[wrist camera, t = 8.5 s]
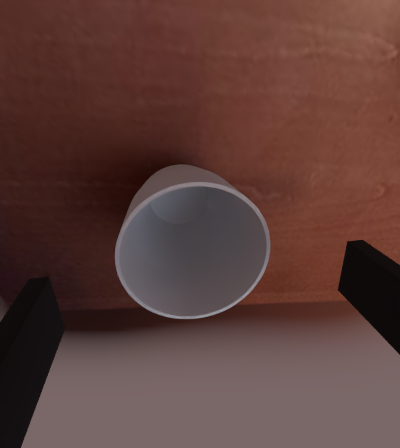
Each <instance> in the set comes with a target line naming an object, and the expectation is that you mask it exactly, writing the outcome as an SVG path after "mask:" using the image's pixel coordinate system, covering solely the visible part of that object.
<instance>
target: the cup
mask: <svg viewBox="0 0 400 448" xmlns="http://www.w3.org/2000/svg"><path fill="white" fill-rule="evenodd" d="M269 254H270V235H269V231H268V227H267V224H266V222H265V219H264V217H263V216H262V214H261V212H260V211H259V210H258V208H257V207H256V206H255V205H254V204H253V203H252V202H251V201H250V200H249V199H248V198H247V197H245V196H244V195H243V194H242V193H240V192H239V191H238V190H237V189H235V188H234V187H233V186H232V185H230V184H229V183H228V182H226V181H225V180H224V179H223V178H221V177H220V176H218V175H216V174H214V173H212V172H210V171H207V170H204V169H201V168H198V167H195V166H191V165H184V164H180V165H172V166H168V167H165V168H163V169H161V170H159V171H157V172H156V173H154V174H153V175H152V176H151V177H150V178H149V179H148V180H147V181H146V182H145V183H144V185H143V186H142V187H141V188H140V189H139V190H138V192H137V193H136V195H135V196H134V198H133V199H132V201H131V204H130V206H129V209H128V212H127V214H126V217H125V220H124V222H123V225H122V228H121V230H120V233H119V236H118V239H117V243H116V249H115V263H116V269H117V273H118V276H119V279H120V281H121V283H122V285H123V287H124V288H125V290H126V291H127V292H128V294H129V295H130V296H131V297H132V298H133V299H134V300H135V301H136V302H137V303H139V304H140V305H141V306H143V307H144V308H146V309H148V310H150V311H152V312H154V313H156V314H159V315H162V316H166V317H171V318H177V319H195V318H202V317H207V316H210V315H214V314H217V313H219V312H222V311H224V310H226V309H228V308H230V307H232V306H233V305H235V304H237V303H238V302H239V301H241V300H242V299H243V298H244V297H246V296H247V295H248V294H249V293H250V292H251V291H252V290H253V288H254V287H255V286H256V285H257V283H258V282H259V280H260V279H261V277H262V275H263V273H264V271H265V269H266V266H267V263H268V259H269Z"/></svg>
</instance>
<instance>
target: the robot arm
mask: <svg viewBox="0 0 400 448" xmlns="http://www.w3.org/2000/svg"><path fill="white" fill-rule="evenodd" d="M338 291H339V292H340V293H341V294H342V295H343V296H344V297H345V298H346V299H347V300H348V301H349V302H350V303H351V304H352V305H353V306H354V307H355V308H356V309H357V310H358V311H359V313H361V315H362V316H363V317H364V318H365V319H366V320H367V321H368V322H369V323H370V324H371V325H372V326H373V327H374V328H375V329H376V330H377V331H378V332H379V333H380V334H381V335H382V336H383V338H385V340H386V341H387V342H388V343H389V344H390V345H391V346H392V347H393V348H394V349H395V350H396V351H397V352H398V353H399V354H400V265H399V264H397V263H396V262H394V261H393V260H391V259H390V258H388V257H387V256H386V255H384V254H383V253H381V252H380V251H378V250H377V249H375V248H374V247H372V246H371V245H369V244H368V243H367V242H365V241H364V240H357V241H348V242H347V246H346V251H345V256H344V261H343V267H342V272H341V277H340V282H339V287H338ZM64 330H65V326H64V322H63V319H62V316H61V313H60V310H59V307H58V303H57V300H56V297H55V294H54V291H53V287H52V284H51V281H50V278H49V277H42V278H34V279H29V280H28V281H27V283H26V284H25V286H24V287H23V289H22V290H21V292H20V293H19V295H18V296H17V298H16V299H15V301H14V302H13V304H12V305H11V307H10V308H9V310H8V311H7V313H6V315H5V316H4V318H3V319H2V320H1V322H0V448H21V446H22V443H23V440H24V437H25V435H26V432H27V429H28V427H29V424H30V421H31V418H32V416H33V413H34V411H35V408H36V405H37V402H38V400H39V397H40V394H41V392H42V389H43V386H44V384H45V381H46V378H47V376H48V373H49V370H50V367H51V364H52V362H53V360H54V357H55V354H56V351H57V349H58V346H59V343H60V341H61V338H62V335H63V333H64Z"/></svg>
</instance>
